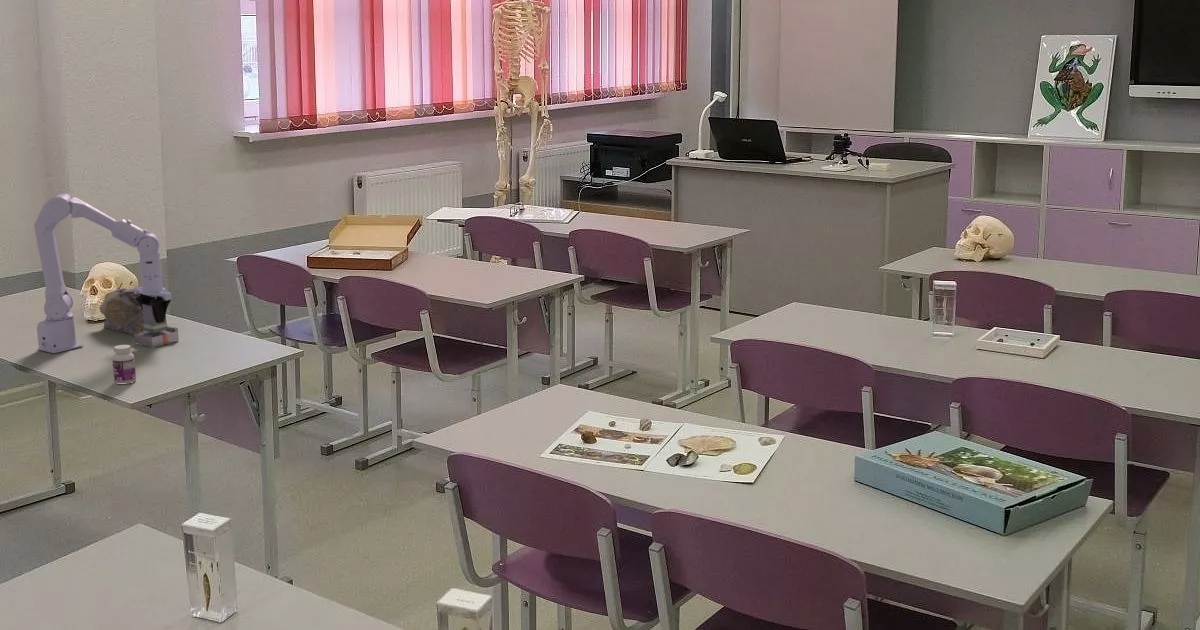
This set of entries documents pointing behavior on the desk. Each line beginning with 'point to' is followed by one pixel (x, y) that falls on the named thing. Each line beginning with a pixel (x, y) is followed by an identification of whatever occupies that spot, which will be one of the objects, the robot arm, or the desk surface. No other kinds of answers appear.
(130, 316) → the fossil rock
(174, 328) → the stand block
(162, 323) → the grey rectangular block
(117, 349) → the pill bottle
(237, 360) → the desk surface
